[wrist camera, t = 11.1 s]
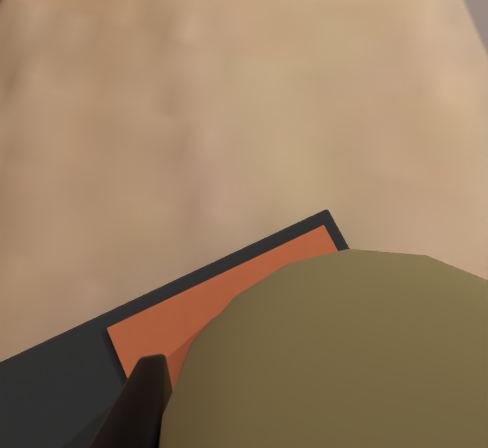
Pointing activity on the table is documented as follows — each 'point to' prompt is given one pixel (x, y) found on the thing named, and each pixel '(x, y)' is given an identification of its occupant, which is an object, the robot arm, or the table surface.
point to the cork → (340, 359)
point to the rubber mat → (135, 341)
